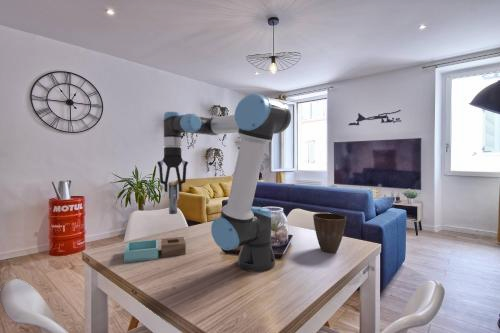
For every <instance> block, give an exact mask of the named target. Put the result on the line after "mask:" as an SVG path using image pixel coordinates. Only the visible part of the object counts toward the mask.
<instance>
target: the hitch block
mask: <svg viewBox="0 0 500 333" xmlns="http://www.w3.org/2000/svg"><path fill="white" fill-rule="evenodd" d="M160 243H161V244H160V247H161V248H160V249H161V258H166V257H175V256H182V255H183V256H184V255H186V248H187V246H186V244H187V243H186V240H185V238H184V236H179V237H178V236H177V237H169V238H167V237H166V238H161V242H160Z"/></svg>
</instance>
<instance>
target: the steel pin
mask: <svg viewBox="0 0 500 333" xmlns="http://www.w3.org/2000/svg"><path fill="white" fill-rule="evenodd" d="M168 184H169V200H168V215H176V214H178V199H177V184H178V181H177V182H175V181H172V182H171V181H168Z"/></svg>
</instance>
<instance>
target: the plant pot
mask: <svg viewBox="0 0 500 333" xmlns="http://www.w3.org/2000/svg"><path fill="white" fill-rule="evenodd" d="M312 217H313V218H312V219H313V224H314V231H315V235H316V239H317V242H318V245H319V246H318V247H319V248H320V250H321V251H322V252H325V253H330V252H333V253H336V251H337V252H338V250H339V247H340V245H341V242H342V240H343V236H344V233H345V229H346V222H347V216H346V215H343V214H339V213H333V212H318V213H314V214H313V215H312Z"/></svg>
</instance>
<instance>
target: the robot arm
mask: <svg viewBox="0 0 500 333" xmlns="http://www.w3.org/2000/svg"><path fill="white" fill-rule="evenodd" d="M291 112H292V111H291V109H290V108H289V106H288V105H287V104H286V103H285V102H284V101H280V100H278V99H274V98H272V97H269V96H266V95H263V94H258V93H250V94H247V95H245V96H244V97H242V98H241V100H240V101H239V102H238V103H237V105H236V108H235V110H234V114H231V115H223V116H215V117H203V116H199V115H197V114H196V113H187V114H186V113H185V114H181V113H180V112H177V111H166V112H164V114H163V146H164V148H163V159H162V160H158V161H157V165H158V168H159V181H160V182H159V183H160V184H161V185H164V187H163V188H164V192H165V193H167V194H166V199H167V201H169V176H170V173H171V172H170V170H171V168H175V173H176V180H177V200H179V199H180V192H182V185H183V184H185V183H186V181H187V180H186V179H187V166H188V164H189V162H188V160H187V161H186V160H184V159H183V158H182V157H183V156H182V134H188V133H189V134H196V135H197V134H198V135H200V134H201V135H209V136H219V135H221V134H237V133H238V136H239V137H240V143H239V148H238V152H237V157H236V163H235V167H234V170H233V171H234V172H233V175H232V181H231V185H230V191H229V193H228V199H227V203H226V204H225V205H223V206H222V208H221V211H220V216H218V217H217V218H215V219H214V220H213V221H212V222H211V226H210V227H211V228H210V232H211V236H212V239H213V241H214V243H215V244H216V246H217V247H219V248H220V249H221V250H224V251H230V250H235V249H238V248H239V247H240V252H239V253H238V257H237V266H238V267H239V268H241V269H242V270H245V271H248V272H265V271H266V272H267V271H269V270H272V269H273V268H275V266H276V258H275V253H274V250H273V248H272V220H273V219H272V210H270V209H269V208H267V207H262V206H253V202H254V198H255V193H256V190H257V189H256V188H257V186H258V180H259V176H260V172H261V168H262V164H263V160H264V155H265V151H266V147H267V145H268V144H269V143H270V142H272V140H273V136H274V134H275V135H276V134H280V133H283V132H285V131H286V130H287V128H289V127H290V124H291V121H292V113H291ZM181 163H182V164H181ZM164 164H165V166H166V172H165V173H166V174H165V178H163V176H164V175H163V165H164ZM180 165H182V177H181V173H180V169H179V166H180ZM181 178H182V179H181Z"/></svg>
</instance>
